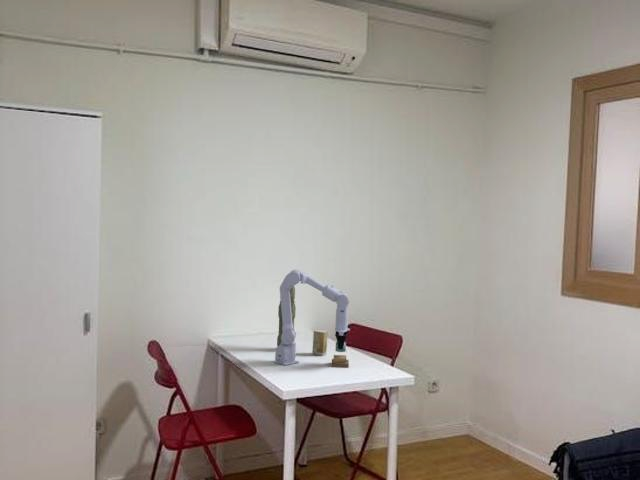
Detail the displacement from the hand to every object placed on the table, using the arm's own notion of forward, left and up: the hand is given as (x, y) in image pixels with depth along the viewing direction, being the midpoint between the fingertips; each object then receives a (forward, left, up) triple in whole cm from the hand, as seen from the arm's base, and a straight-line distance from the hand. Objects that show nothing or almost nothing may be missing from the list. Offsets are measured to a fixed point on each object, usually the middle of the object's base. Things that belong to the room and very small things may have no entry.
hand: (340, 347), depth 270 cm
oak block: (0, 0, -6) cm, 6 cm away
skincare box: (+9, +20, -8) cm, 23 cm away
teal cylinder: (0, 0, -1) cm, 1 cm away
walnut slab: (0, 0, -9) cm, 9 cm away
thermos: (+3, +38, -8) cm, 39 cm away
